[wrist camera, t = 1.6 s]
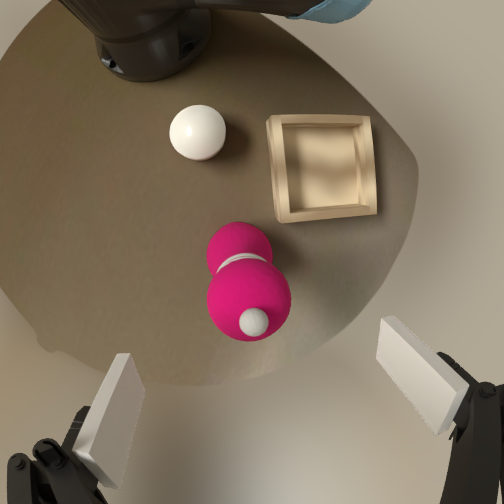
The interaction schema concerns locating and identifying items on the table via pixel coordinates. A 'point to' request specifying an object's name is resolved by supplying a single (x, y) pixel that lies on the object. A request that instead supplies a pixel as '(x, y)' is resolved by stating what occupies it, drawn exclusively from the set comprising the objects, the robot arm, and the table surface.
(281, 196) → the tray
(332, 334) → the table surface
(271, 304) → the pepper mill
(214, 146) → the white egg-shaped pebble
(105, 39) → the robot arm
